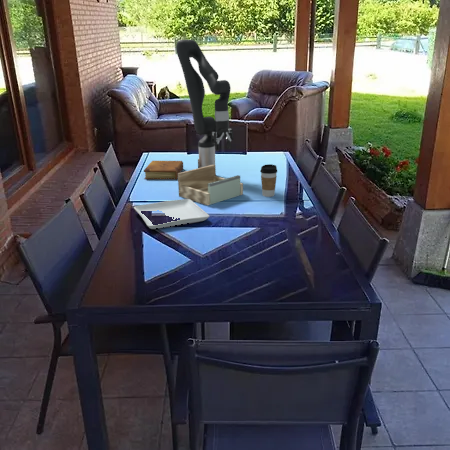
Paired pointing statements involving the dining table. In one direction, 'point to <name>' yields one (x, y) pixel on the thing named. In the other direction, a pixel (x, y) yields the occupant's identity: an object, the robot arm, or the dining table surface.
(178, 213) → the square plate
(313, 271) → the dining table surface
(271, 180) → the coffee cup
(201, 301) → the dining table surface
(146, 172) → the diary
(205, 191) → the tray
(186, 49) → the robot arm
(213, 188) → the panel
